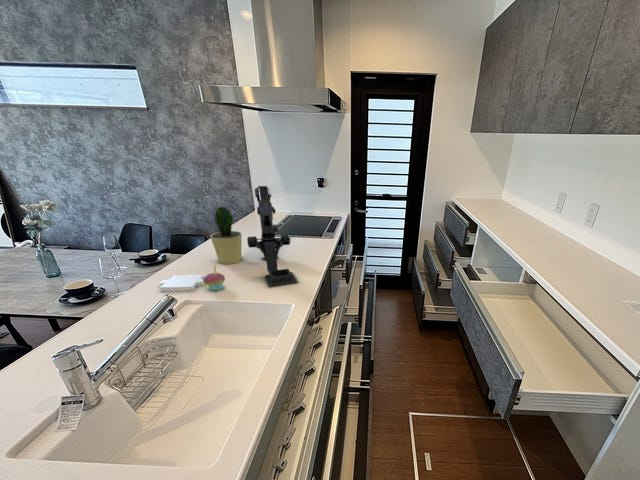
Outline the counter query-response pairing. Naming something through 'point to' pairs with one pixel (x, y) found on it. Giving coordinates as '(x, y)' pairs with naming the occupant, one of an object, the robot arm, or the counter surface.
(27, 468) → the counter surface
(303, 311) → the counter surface
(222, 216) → the potted cactus
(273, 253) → the post
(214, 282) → the cupcake
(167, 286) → the mounting plate
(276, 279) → the socket pad
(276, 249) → the robot arm
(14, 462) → the counter surface
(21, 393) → the counter surface
